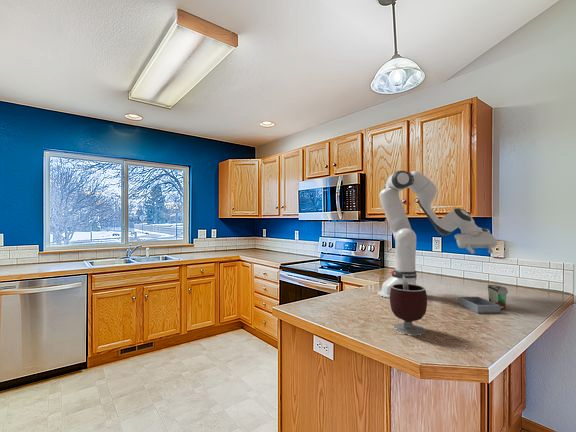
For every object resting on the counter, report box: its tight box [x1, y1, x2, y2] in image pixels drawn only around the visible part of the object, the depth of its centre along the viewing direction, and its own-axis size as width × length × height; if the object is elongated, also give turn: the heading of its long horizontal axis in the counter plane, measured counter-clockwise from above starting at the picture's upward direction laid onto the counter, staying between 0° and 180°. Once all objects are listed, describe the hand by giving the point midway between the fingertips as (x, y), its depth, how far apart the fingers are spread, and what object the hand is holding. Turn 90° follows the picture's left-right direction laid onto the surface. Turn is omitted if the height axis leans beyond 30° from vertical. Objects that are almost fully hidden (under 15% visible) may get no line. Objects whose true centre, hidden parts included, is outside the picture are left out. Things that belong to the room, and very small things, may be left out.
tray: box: [457, 296, 501, 314], centre depth 152 cm, size 11×17×4 cm, turn 0°
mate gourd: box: [389, 276, 428, 336], centre depth 124 cm, size 16×14×20 cm
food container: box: [487, 284, 509, 311], centre depth 153 cm, size 12×6×10 cm, turn 168°
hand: (482, 252), depth 167 cm, fingers open, 8 cm apart
